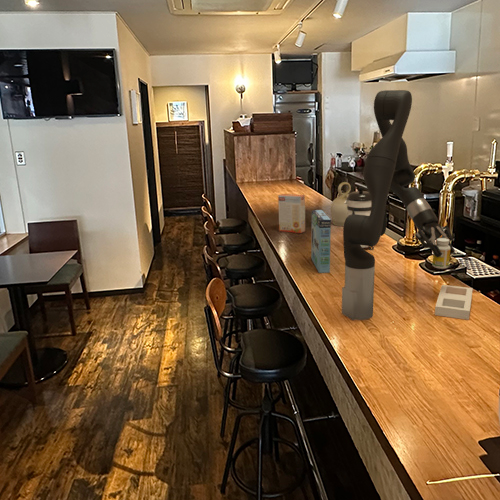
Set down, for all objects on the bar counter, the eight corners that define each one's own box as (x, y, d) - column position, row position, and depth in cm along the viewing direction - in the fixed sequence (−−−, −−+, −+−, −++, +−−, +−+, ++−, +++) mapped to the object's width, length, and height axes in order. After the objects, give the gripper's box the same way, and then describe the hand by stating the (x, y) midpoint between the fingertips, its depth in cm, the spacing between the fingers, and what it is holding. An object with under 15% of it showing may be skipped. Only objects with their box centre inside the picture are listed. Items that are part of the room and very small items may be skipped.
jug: (359, 226, 267) (360, 183, 260) (332, 227, 267) (333, 184, 260) (354, 220, 282) (355, 179, 274) (328, 221, 282) (328, 180, 275)
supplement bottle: (436, 269, 158) (439, 242, 155) (429, 264, 163) (431, 238, 160) (451, 268, 158) (454, 241, 155) (443, 263, 163) (446, 237, 161)
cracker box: (305, 231, 261) (305, 194, 256) (300, 233, 257) (300, 196, 251) (283, 229, 269) (283, 193, 263) (278, 231, 264) (277, 194, 258)
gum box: (311, 259, 211) (310, 210, 205) (322, 258, 211) (322, 209, 205) (318, 273, 193) (318, 219, 186) (330, 272, 193) (331, 219, 186)
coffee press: (365, 254, 215) (366, 190, 207) (337, 248, 227) (338, 187, 218) (386, 246, 226) (388, 185, 217) (358, 240, 238) (360, 182, 229)
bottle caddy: (468, 319, 145) (469, 311, 144) (434, 314, 150) (435, 306, 149) (471, 296, 163) (472, 288, 162) (441, 292, 167) (441, 284, 167)
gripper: (412, 210, 158) (437, 252, 152) (442, 205, 164) (468, 245, 157) (400, 222, 165) (424, 263, 158) (430, 217, 170) (454, 256, 164)
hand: (446, 254), depth 158 cm, fingers closed on supplement bottle, 5 cm apart
